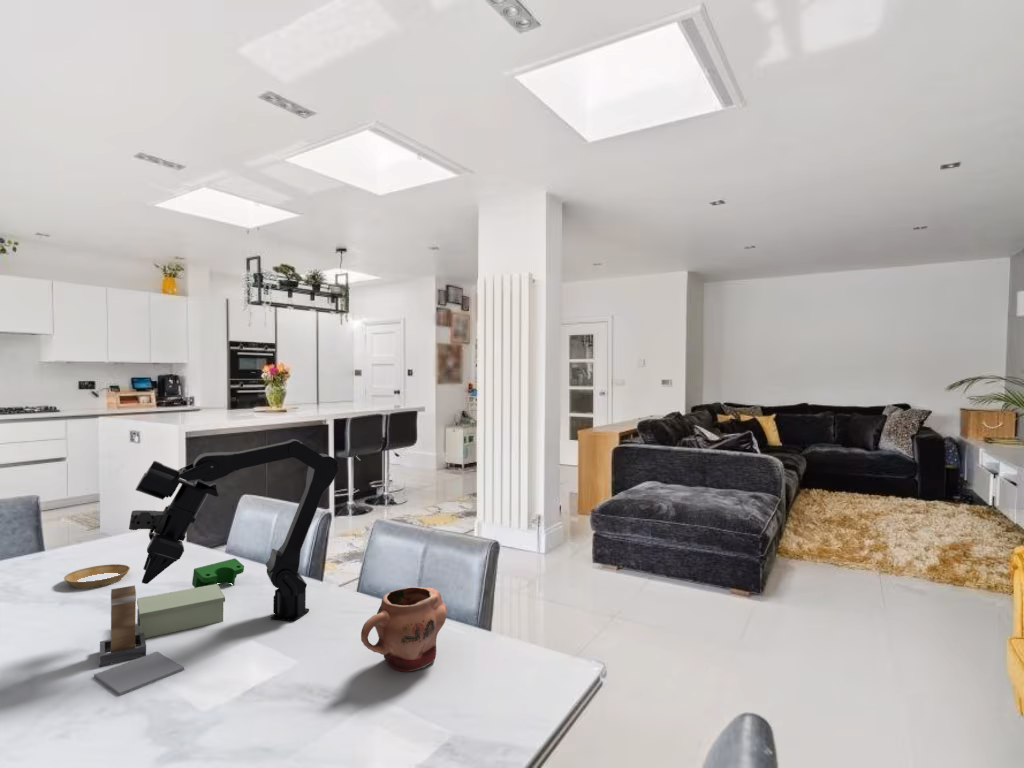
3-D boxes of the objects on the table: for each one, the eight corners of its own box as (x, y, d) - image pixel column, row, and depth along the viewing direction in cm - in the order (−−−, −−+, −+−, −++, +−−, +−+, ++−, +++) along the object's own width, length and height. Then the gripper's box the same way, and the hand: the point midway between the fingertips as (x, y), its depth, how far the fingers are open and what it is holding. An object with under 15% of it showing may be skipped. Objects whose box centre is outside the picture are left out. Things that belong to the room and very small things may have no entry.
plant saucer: (72, 576, 159) (72, 567, 159) (134, 570, 165) (134, 561, 165) (56, 595, 146) (56, 585, 146) (124, 587, 152) (124, 577, 152)
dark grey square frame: (143, 641, 120) (143, 632, 120) (146, 655, 114) (146, 646, 114) (99, 651, 115) (99, 641, 115) (99, 666, 109) (99, 656, 109)
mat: (157, 653, 115) (157, 651, 115) (184, 669, 109) (184, 667, 109) (94, 677, 106) (94, 674, 106) (119, 695, 99) (119, 692, 99)
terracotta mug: (386, 697, 100) (387, 619, 100) (343, 675, 107) (344, 602, 107) (461, 654, 116) (461, 587, 116) (419, 637, 123) (420, 574, 123)
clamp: (207, 607, 149) (197, 583, 145) (197, 597, 152) (187, 572, 148) (250, 579, 157) (242, 555, 153) (239, 570, 161) (231, 546, 156)
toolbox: (217, 606, 139) (217, 583, 139) (224, 621, 131) (225, 597, 130) (136, 622, 129) (136, 598, 129) (138, 640, 121) (139, 614, 121)
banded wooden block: (134, 647, 118) (135, 585, 117) (135, 654, 114) (136, 591, 114) (110, 652, 115) (111, 589, 115) (110, 660, 112) (111, 595, 112)
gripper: (147, 486, 127) (107, 552, 123) (144, 502, 111) (98, 578, 107) (197, 504, 132) (160, 568, 128) (201, 521, 116) (159, 595, 112)
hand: (144, 576), depth 119 cm, fingers open, 9 cm apart
